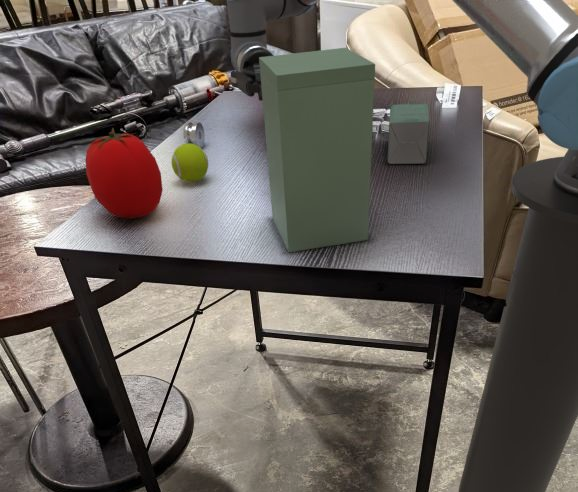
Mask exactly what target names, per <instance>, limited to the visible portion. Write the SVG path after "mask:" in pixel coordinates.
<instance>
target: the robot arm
mask: <svg viewBox="0 0 578 492" xmlns="http://www.w3.org/2000/svg"><path fill="white" fill-rule="evenodd" d="M319 1H320V0H226V1H225V2H226V7H227V15H228V22H229V23H228V24H229V30H230V31H229V34H230V45H231V46H230V47H231V49H230V60H231V62H230V63H231V66H232V67H233V69H234V70H231V71H230V81H231V87H232V88H235V89H238V90H240V91H241V92H242V93H243V94H245V95H246V96H247V97H251V98H252V97H255V94H257V95H258V101H259V102H260V101H261V102H263V99H262V87H261V75H260V63H259V57H267V56H275V54H273V53H272V52H270V50H269V49H268V44H267V26H266V25H267V24H266V23H267V22H271V21H274V20H279V19H285V18H289V17H290V18H291V17H299V16H301V15H303V14H306V13H309V12H311V11H312V10H313V9H314V7H315V5H316V4H317V2H319ZM452 2H453V3H454V4H455V5H456V6H457V7H458V8H459V9H460V10H461V11H462V12H463V13H464V14H465V15H466V16H467V17H468V18H469V19H470V21H471V22H473V23H474V24H475V25H476V26H477V27H478V28H479V29H480V30H481V31H482V32H483V33H484V34H485V35H486V37H487V38H488V39H489V40H490V41H491V42H492V43H493V44H495V45H496V47H497V48H498V49H499V50H500V51H501V52H502V53H503V54H504V55H505V56H506V57H507V58H508V59H509V60H510V61H511V62H512V63H513V65H515V66H516V67H517V69H519V70H520V71H521V72H522V73H523V74H524V75H525V76H526V78H527V82H526V91H525V93H526V96H527V97H528V98H529V99H530V100H531V101H532V102H533V104H535V105H536V109H537V113H538V114H537V121H538V124H539V127H540V129H541V130H542V132H543V134H544V135H545V137H546V138H547V139H548V140H549V141H551V142H552V143H553V144H555V145H557V146H559V147H561V148H564V149H566V150H567V151H566V152H565V154H564V155H563V156H562V157H563V159H562V160H561V162H560V164H559V165H558V167H557V170H556V172H555V176H554V179H553V182H554V184H555V186H556V187H557V188H559V189H560V190H562V191H563V192H565V193H568V194H570V195H573V196H576V197H578V14H577V12H576V11H574V10H573V9H572V8H571V7H570V6H569V5H568V4H567V3H566V2H565V1H564V0H452Z"/></svg>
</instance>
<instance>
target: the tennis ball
mask: <svg viewBox="0 0 578 492" xmlns="http://www.w3.org/2000/svg"><path fill="white" fill-rule="evenodd" d="M171 168H172V170H173V172H174V174H175V175H176V176H177V178H179V179H180V180H182V181H183V182H185V183H196V182H199V181H201V180H202V179H203V178H205V176H206V175H207V173H208V169H209V158H208V155H207V153H206V152H205V151H204V150H203V148H200V147H199V146H197V145H195V144H191V143H187V144H186V143H183V144H180V145H179V146H177V148H176V149H174V151H173V154H172V156H171Z"/></svg>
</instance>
